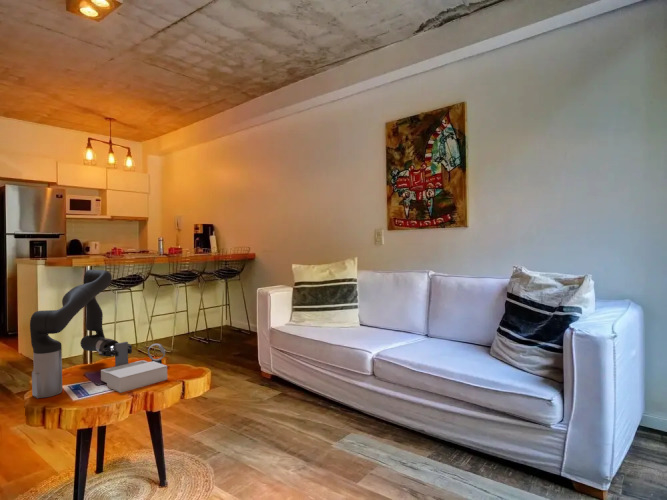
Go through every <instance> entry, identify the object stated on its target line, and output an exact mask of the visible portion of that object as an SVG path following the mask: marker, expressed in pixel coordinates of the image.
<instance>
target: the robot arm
mask: <svg viewBox="0 0 667 500" xmlns="http://www.w3.org/2000/svg"><path fill="white" fill-rule="evenodd" d="M112 279H113V277H112V274H111V273H110V271H107V270H103V269H102V270H101V269H88V270H86V271H85V272H84V275H83V282H82V284H78V285H76V286H74V287H73V288H71V289H69V290H68V291H67V292H66V293H65V294H64V295H63V297H62V300H61V305H62V307H61V308H59V309H55V310H53V309H52V310H51V309H50V310H37V311H34V312H33V313H32V315H31V317H30V319H29V331H30V341H31V342H30V343H31V347H32V352H33V353H32V354H33V355H32V357H33V358H32V359H33V370H32V371H31V381H32V382H31V387H32V389H31V391H32V392H31V393H32V396H33V397H34V398H36V399H42V398H50V397H54V396H57V395H59V394H61V393H62V392H63V362H62V361H63V359H62V357H63V353H62V352H63V351H62V350H63V349H62V348H63V347H62V342H61V341H59V340H57V339H53V338H52V337H51V336H50V334H51V335H53V334H59V333H61V332H62V331H64V329H66V327H67V326H68V325H69V323H70V322H71V321H72V320H73V319H74V317H75V316H76V315H77V314H78V313H79V312H80V311H81V310H83V308H85V309H86V311H85V312H86V313H85V314H86V315H85V317H86V318H85V319H86V320H85V329H86V330H87V331H88V332H89V331H90V332H95V334H89V335H85V336H83V337H82V338H81V340H80V342H79V343H80V347H81V349H82V350H84V351H86V352H97V353H98V356H101V357H115V356H116V357H117V356H119V352H118V351H116V350H115V344H117V343H119V342H118V340H114V339H112V338H108V337H105V333H104V330H103V329H104V328H103V319H104V316H103V310H102V308H101V306H100V304H99V303H98V300H97V299H96V297H97V295H99V294H100V293H102V292H103V291H105V290H106V289H108V288H109V286H110V285H111V283H112ZM132 353H133V346H132V344H130V343H128V355H129V354H130V355H131V354H132Z"/></svg>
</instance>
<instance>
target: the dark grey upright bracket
mask: <svg viewBox="0 0 667 500" xmlns="http://www.w3.org/2000/svg"><path fill="white" fill-rule="evenodd" d="M128 344H129V342H128V341H123V342H118V343H117V344H115V350H116V351H118V352H119V356H117V357H116V356H114V362H115V364H114V366H111V367H108V368H104V369H100V381H102V382H104V383H106V384H107V372H110V371H114V370H118V369H122V368H127V367H131V366H135V365H139V364H143V363H148V362H149V361H147V360H144V359H143V360H138V361H137V360H136V361H135V362H134V361H133V362H129V354H128Z"/></svg>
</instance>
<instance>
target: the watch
mask: <svg viewBox="0 0 667 500" xmlns="http://www.w3.org/2000/svg"><path fill="white" fill-rule="evenodd" d="M154 346H157V347H158V350H159V351H160V352H161V353H162V356H161V357H159V358H153V356H152V355H151V353H150V349H151V348H152V347H154ZM166 352H167V351H166V349H165V348H164V346H163V344H162V343H153V344H151V345H150V346H149V347H148V348H147V355H148V357H149V359H150V360H151V362H152V361H154V362H157V363H160V364H163V361H162V359H163V358H164V357H165V355H166Z"/></svg>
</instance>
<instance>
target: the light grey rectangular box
mask: <svg viewBox="0 0 667 500" xmlns="http://www.w3.org/2000/svg"><path fill="white" fill-rule="evenodd" d="M147 362H148V363H143V364H139V365H135V366H131V367H127V368H122V369H118V370H114V371H110V372H107V383H106V384H107V385H106V387H107V388H109V389H112V390H114V391H116V392H118V393H124V392H128V391H132V390H135V389H139V388H143V387H147V386H149V385H153V384H156V383H159V382H165V381H166V380H168V365H166V364H163V363H162V364H160V363H157V362H154V361H152V360H151V361H147Z"/></svg>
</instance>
